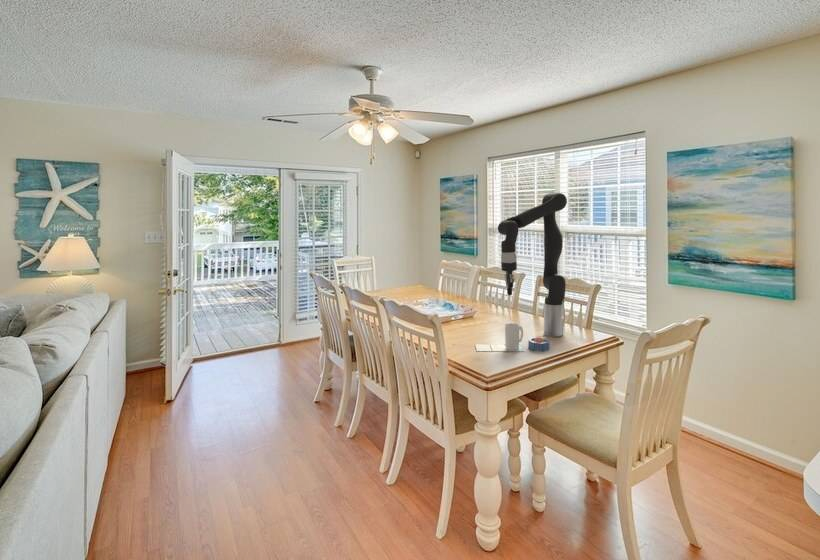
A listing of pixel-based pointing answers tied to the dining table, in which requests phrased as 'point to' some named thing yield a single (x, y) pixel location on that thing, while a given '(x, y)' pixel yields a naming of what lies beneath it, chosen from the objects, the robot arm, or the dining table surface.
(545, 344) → the blue ribbed round dish
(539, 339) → the dome button
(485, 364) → the dining table surface
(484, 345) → the board
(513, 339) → the mug
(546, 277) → the robot arm
